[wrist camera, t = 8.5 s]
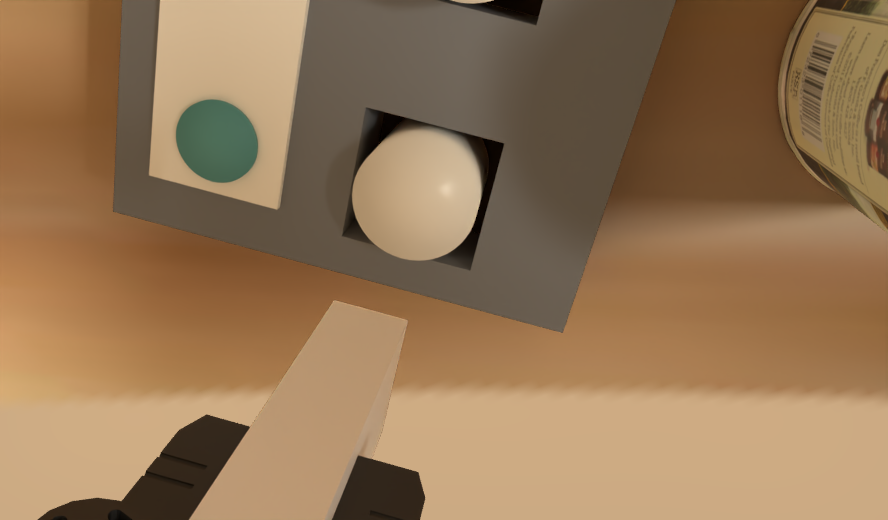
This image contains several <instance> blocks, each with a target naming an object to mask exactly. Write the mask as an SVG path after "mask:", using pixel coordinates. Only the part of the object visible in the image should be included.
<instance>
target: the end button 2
mask: <svg viewBox="0 0 888 520" xmlns="http://www.w3.org/2000/svg"><path fill="white" fill-rule="evenodd" d="M488 172H489V158H488V153H487V149H486V146H485V144H484V142H483V140H482V138H481V137H478V136H475V135H471V134H467V133H463V132H459V131H455V130H452V129H448V128H444V127H440V126H436V125H432V124H429V123H425V122H421V121H417V120H413V119H409V118H406V119H404V120H403V121H401V122H400V123H399V124H398V125H397V126H396V127H395V128H394V129H393V130H392V131H391V132H390V134H389V135H388V136H387V137H386V138H385V139H384V140H383V141H382V142H381V143H380V144H379V145H378V146H377V148H376V149H375V150H374V151H373V152H372V153H371V154H370V155H369V156H368V157H367V158H366V160H365V161H364V162H363V163H362V165H361V167H360V168H359V170H358V172H357V175H356V177H355V180H354V184H353V191H352V202H353V209H354V213H355V216H356V219H357V221H358V223H359V225H360V227H361V229H362V230H363V232H364V233H365V234H366V236H367V237H368V238H369V239H370V240H371V241H372V242H373V243H374V244H375V245H376V246H378V247H379V248H380V249H382V250H384V251H385V252H387V253H389V254H391V255H393V256H396V257H399V258H402V259H407V260H416V261H420V260H430V259H435V258H438V257H441V256H443V255H445V254H448V253H449V252H451V251H452V250H454V249H455V248H456V247H458V246H459V245H460V244H461V243H462V242H463V241H464V240H465V238H466V237H467V236H468V234H469V233H470V231H471V229H472V227H473V224H474V221H475V219H476V215H477V212H478V208H479V205H480V201H481V198H482V195H483V191H484V188H485V184H486V181H487V177H488Z"/></svg>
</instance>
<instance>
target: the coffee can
mask: <svg viewBox="0 0 888 520" xmlns="http://www.w3.org/2000/svg"><path fill="white" fill-rule="evenodd" d="M778 106H779V114H780V119H781V123H782V126H783V130H784V133H785V137H786V140H787V142H788V144H789V146H790V147H791V149H792V150H793V152H794V153H795V155H796V157H797V159H798V160H799V161H800V163H801V164H802V165H803V166H804V167H805V169H806V170H807V171H808V172H809V173H810V174H811V175H812V176H814V177H815V178H816V179H817V180H818V181H819V182H821V183H822V184H823V185H825V186H826V187H828V188H829V189H831V190H832V191H834V192H836V193H838V194H839V195H840V196H841V197H843V198H844V199H845V200H846V201H848V202H849V203H850V204H852V205H853V206H854V207H855V208H857V209H858V210H859V211H860V212H862V213H863V214H864V215H866V216H867V217H868V218H869V219H871V220H872V221H873V222H874V223H876V224H877V225H878V226H879V227H880V228H882V229H883V230H884V231H886V232H887V233H888V0H809V2H808V3H807V5H806V6H805V8H804V9H803V11H802V13H801V14H800V16H799V18H798V19H797V21H796V23H795V25H794V27H793V29H792V30H791V32H790V34H789V38H788V41H787V44H786V47H785V50H784V54H783V57H782V61H781V67H780V73H779V80H778Z"/></svg>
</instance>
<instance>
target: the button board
mask: <svg viewBox="0 0 888 520" xmlns="http://www.w3.org/2000/svg"><path fill="white" fill-rule="evenodd" d="M675 2H676V0H543V1H542V5H541V9H540V13H539V16H534V15H530V14H526V13H522V12H518V11H514V10H510V9H507V8H503V7H499V6H495V5H491V4H487V3H461V2H455V1H452V0H122V18H121V41H120V64H119V87H118V110H117V133H116V156H115V179H114V202H113V212H117V213H120V214H124V215H128V216H131V217H135V218H139V219H143V220H146V221H150V222H154V223H157V224H161V225H165V226H169V227H172V228H176V229H180V230H183V231H187V232H191V233H194V234H198V235H202V236H206V237H209V238H213V239H217V240H220V241H224V242H228V243H231V244H235V245H239V246H243V247H246V248H250V249H254V250H257V251H261V252H265V253H269V254H272V255H276V256H280V257H283V258H287V259H291V260H294V261H298V262H302V263H306V264H309V265H313V266H317V267H320V268H324V269H328V270H331V271H335V272H339V273H343V274H346V275H350V276H354V277H357V278H361V279H365V280H369V281H372V282H376V283H380V284H383V285H387V286H391V287H394V288H398V289H402V290H406V291H409V292H413V293H417V294H420V295H424V296H428V297H432V298H435V299H439V300H443V301H446V302H450V303H454V304H457V305H461V306H465V307H469V308H472V309H476V310H480V311H483V312H487V313H491V314H494V315H498V316H502V317H506V318H509V319H513V320H517V321H520V322H524V323H528V324H532V325H535V326H539V327H543V328H546V329H550V330H554V331H557V332H561V333H563V330H564V327H565V325H566V322H567V319H568V316H569V313H570V310H571V307H572V304H573V301H574V298H575V295H576V292H577V289H578V286H579V283H580V281H581V278H582V275H583V272H584V269H585V266H586V263H587V260H588V257H589V254H590V251H591V248H592V245H593V242H594V239H595V237H596V234H597V231H598V228H599V225H600V222H601V219H602V216H603V213H604V210H605V207H606V204H607V201H608V198H609V195H610V193H611V190H612V187H613V184H614V181H615V178H616V175H617V172H618V169H619V166H620V163H621V160H622V157H623V154H624V151H625V149H626V146H627V143H628V140H629V137H630V134H631V131H632V128H633V125H634V122H635V119H636V116H637V113H638V110H639V107H640V104H641V102H642V99H643V96H644V93H645V90H646V87H647V84H648V81H649V78H650V75H651V72H652V69H653V66H654V63H655V60H656V58H657V55H658V52H659V49H660V46H661V43H662V40H663V37H664V34H665V31H666V28H667V25H668V22H669V19H670V16H671V14H672V11H673V8H674V5H675ZM384 112H387V113H390V114H394V115H398V116H402V117H406V118H409V119H413V120H417V121H421V122H425V123H429V124H432V125H436V126H440V127H444V128H448V129H452V130H455V131H459V132H463V133H467V134H471V135H475V136H478V137H482V138H486V139H490V140H494V141H498V142H501V143H504V146H503V150H502V154H501V157H500V161H499V165H498V168H497V172H496V176H495V180H494V183H493V187H492V191H491V194H490V198H489V202H488V206H487V209H486V213H485V217H484V220H483V224H482V228H481V232H480V234H479V233H476V232H472V231H470V233H469V234H468V236H467V237H466V238H465V240H464V241H463V242H462V243H461V244H460V245H459V246H458V247H456V248H455V249H454V250H452V251H451V252H449V253H448V254H445V255H443V256H441V257H438V258H435V259H430V260H420V261H416V260H407V259H402V258H399V257H396V256H393V255H391V254H389V253H387V252H385V251H384V250H382V249H380V248H379V247H378V246H376V245H375V244H374V243H373V242H372V241H371V240H370V239H369V238H368V237H367V236H366V234H365V233H364V232H363V230H362V229H361V227H360V225H359V223H358V221H357V219H356V216H355V213H354V209H353V202H352V191H353V184H354V180H355V177H356V175H357V172H358V170H359V168H360V167H361V165H362V163H363V162H364V161H365V160H366V158H367V157H368V156H369V155H370V154H371V153H372V152H373V151H374V150H375V149H376V148H377V146H378V143H379V138H380V133H381V127H382V122H383V117H384Z"/></svg>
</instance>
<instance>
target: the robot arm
mask: <svg viewBox="0 0 888 520" xmlns="http://www.w3.org/2000/svg"><path fill="white" fill-rule="evenodd" d="M407 323H408V320H406V319H403V318H399V317H395V316H392V315H388V314H384V313H381V312H377V311H373V310H370V309H366V308H362V307H359V306H355V305H351V304H348V303H344V302H340V301H337V300H334V301H333V302H332V304H331V306H330V307H329V309H328V310H327V312H326V313H325V315H324V316H323V318H322V319H321V321H320V322H319V324H318V325H317V327H316V328H315V330H314V331H313V333H312V334H311V336H310V337H309V339H308V340H307V342H306V343H305V345H304V346H303V348H302V349H301V351H300V352H299V354H298V355H297V357H296V358H295V360H294V362H293V363H292V365H291V366H290V368H289V369H288V371H287V372H286V374H285V375H284V377H283V378H282V380H281V381H280V383H279V384H278V386H277V387H276V389H275V390H274V392H273V393H272V395H271V396H270V398H269V399H268V401H267V402H266V404H265V405H264V407H263V408H262V410H261V412H260V413H259V415H258V416H257V418H256V419H255V421H254V422H253V424H252V425H251V427H249V426H245V425H242V424H238V423H235V422H231V421H228V420H224V419H220V418H217V417H213V416H210V415H205V416H203V417H201V418H200V419H198V420H196V421H194V422H193V423H191V424H189V425H187V426H185V427H184V428H182V429H180V430H179V431H178V432H177V433H176V434H175V436H174V437H173V438H172V439H171V441H170V442H169V443H168V444H167V446H166V447H165V448H164V449H163V451H162V452H161V454H160V457H157V458H156V459H155V460H154V462H153V463H152V464H151V465H150V467H149V468H148V469H147V470H146V473H145V476H142V477H141V478H140V479H139V480H138V481H137V483H136V484H135V485H134V486H133V488H132V489H131V490H130V491H129V493H128V494H127V495H126V496H125V498H124V499H123V500H122V501H117V500H110V499H102V498H93V499H86V500H79V501H72V502H69V503H67V504H65V505H62V506H60V507H57V508H55V509H52V510H50V511H48V512H47V513H46V514H44V515H43V516H42V517H40V518H39V519H38V520H420V517H421V513H422V509H423V505H424V501H425V495H424V492H423V488H422V484H421V481H420V477H419V473H418V472H416V471H412V470H409V469H405V468H401V467H398V466H394V465H391V464H387V463H383V462H380V461H376V460H373V459H372V457H373V454H374V452H375V449H376V446H377V443H378V441H379V439H380V436H381V433H382V430H383V426H384V421H385V417H386V412H387V409H388V404H389V400H390V396H391V391H392V387H393V383H394V378H395V374H396V370H397V366H398V361H399V357H400V353H401V348H402V344H403V340H404V336H405V331H406V327H407Z"/></svg>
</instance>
